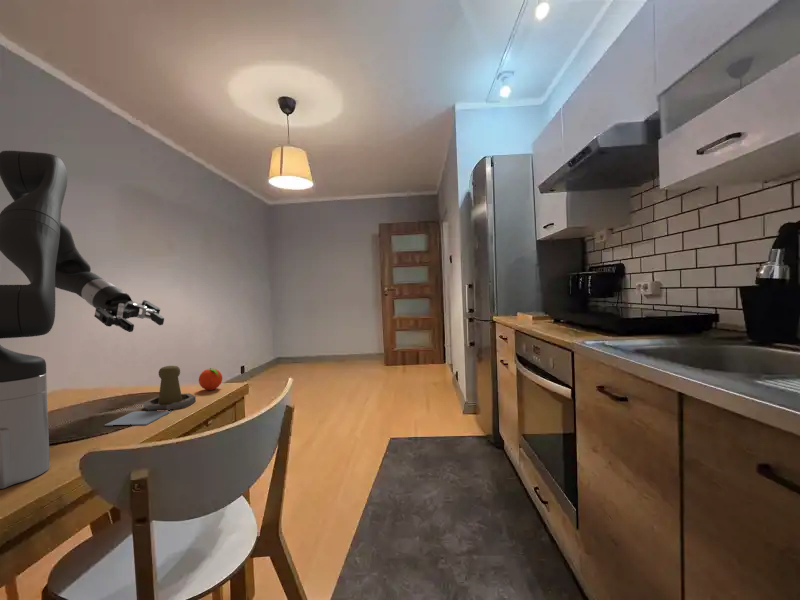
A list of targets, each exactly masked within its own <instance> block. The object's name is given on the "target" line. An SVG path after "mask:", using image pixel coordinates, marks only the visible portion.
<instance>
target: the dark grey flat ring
mask: <svg viewBox="0 0 800 600" xmlns="http://www.w3.org/2000/svg"><path fill="white" fill-rule="evenodd" d="M181 396H182V401H179V402H174V403H169V404H157V403H158V401H159V396H156V397H152V398H150V399H148V400H146V401H144V402H143V408H144V409H145V410H146V409H147V410H148V411H157V410H169V409H174V410H178V409H177V408H179V409H183V408H182V407H184V408H187V407H189V406H191V405H193V404H195V403H196V399H197V398H196V395H194V394H193V393H189V392H188V393H181ZM147 410H146V411H147Z"/></svg>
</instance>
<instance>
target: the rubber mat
mask: <svg viewBox="0 0 800 600" xmlns="http://www.w3.org/2000/svg"><path fill="white" fill-rule="evenodd" d="M169 412H170V413H171V412H172V410H170V411H162V412H161V411H147V410H146V411H145V410H143V411H132V412H129V413H127V414H125V415H123V416H120V417H118V418H116V419H114V420H112V421H109V422H107V423H106V424H104V427H114V426H113V425H130V424H131V425H132V426H148V425H149V424H150V425H151V424H152V423H153V422H155V421H157V420H159V419H160V417H161V418H162V416H163V417H165V416H166V415H168V414H170V413H169Z"/></svg>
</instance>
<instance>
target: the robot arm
mask: <svg viewBox="0 0 800 600" xmlns="http://www.w3.org/2000/svg"><path fill="white" fill-rule="evenodd" d="M0 179H1V181H2V184H3V185H4V187H5V189H6V190H7V192H8V194H9V195H10V197H11V198H12V200H13V201H12V202H11V203H9V204H8V205H7V206H5V207H4V208H3V209H2V210H1V212H0V252H1V254H2V255H3V256H4V257H6V259H8V260H9V261H10V262H11V263H12V264H13V265H14V266H16V267H17V268H18V269H19V270H20V271H21V272H22V273H23V275H25V276H26V278H27V279H28V281H29V283H28V284H0V339H1V340H2V339H17V338H29V337H30V338H31V337H40V336H45V335H46V334H48V333H50V332H51V330H52V329H53V326H54V324H55V318H56V288H57V289H59V290H63V291H66V292H70V293H73V294H76V295H77V296H79V297H80V298H82V299H84V300H85V301H86V303H87V304H89V305H90V306H92V307H93V308H95V311H94V315H93V316H94V318H96V319H97V320H98V321H99V322H101V323H102V324H104V326H106V327H112V325H114V327H115V326H116V327H119V328H121V329H123V331H126V332H129V333H133V331H134V329H135V325H134V323H133V322H131V321H129V320H128V319H131V318H137V319H140V320H141V319H149V320H151V321H153V322H154V323H155V324H157V325H158V326H163V325H164V322H165V317H163V316H162V315H160V311H161V308H160V307H158V306H156V305H155V304H154V303H151V302H150V301H148V300H145V299H143V300H142V302H140V303H138V302H136V301H133V299H132V298H131V295H129V293H127V292H125V291H123V290H122V289H121V288H119V287H117V286H116V285H115V284H113V283H112V282H110V281H108V280H105V279H103V278H102V277H100V276H99V275H97V274H96V273H95V272H91V271H92V270H91V265H90V264H89V263H88V261H87V260H86V259H85V258H84V257H83V256H82V254H81V253H80V252H79V249H77V247H76V244H75V241H74V238H73V235H72V232H71V230H70V228H69V227H68V226H67V225H66V223H65V222H64V221H62V219H61V218H62V217H61V216H62V215H61V213H62V207H63V203H64V199H65V195H66V191H67V187H68V172H67V168H66V165H65V163H64V162H63V160H62V159H61V158H60V157H59V156H57V155H56V154H52V153H48V152H37V151H23V150H2V151H0ZM140 310H142V311H141V313H140ZM47 381H48V380H47V362H46V360H45V359H44V357H41V356H38V355H32V354H24V353H20V352H17V351H14V350H10V349H8V348H6V347H4V346H2V345H1V344H0V489H1V490H3V489H6V488H8V487H10V486H13V485H16V484H19V483H22V482H26V481H29V480H31V479H34V478H36V477H38V476H40V475H42V474H44V473H45V472H47V471H48V470H49V469H50V467H51V463H50V440H49V439H50V437H49V413H48V411H49V410H48V390H47V389H48V386H47V385H48V383H47Z"/></svg>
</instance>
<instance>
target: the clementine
mask: <svg viewBox="0 0 800 600" xmlns="http://www.w3.org/2000/svg"><path fill="white" fill-rule="evenodd" d="M222 382H223V374H222V373H221V371H219V369H217V368H211V367H209V368H207V369H206V368H205V369H204V370H203V371H202V372H201V373H200V375H199V376H198V384H199V386H200V387H201V388H202V389H203V390H207V391H212V390H215V389H217V388H219V387H220V385H221V384H222Z"/></svg>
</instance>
